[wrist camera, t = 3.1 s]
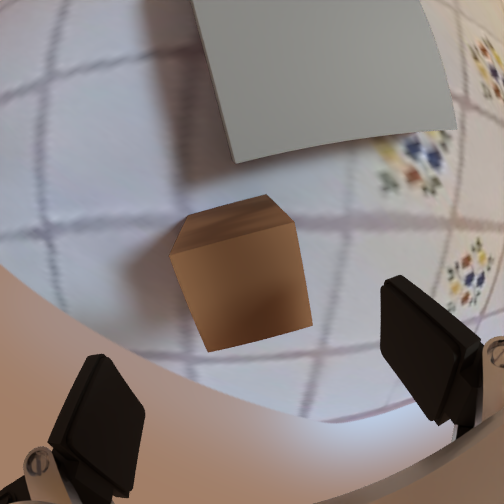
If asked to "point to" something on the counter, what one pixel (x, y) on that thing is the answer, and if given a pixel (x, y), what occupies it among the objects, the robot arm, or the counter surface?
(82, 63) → the counter surface
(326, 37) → the pedestal
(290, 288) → the walnut block
